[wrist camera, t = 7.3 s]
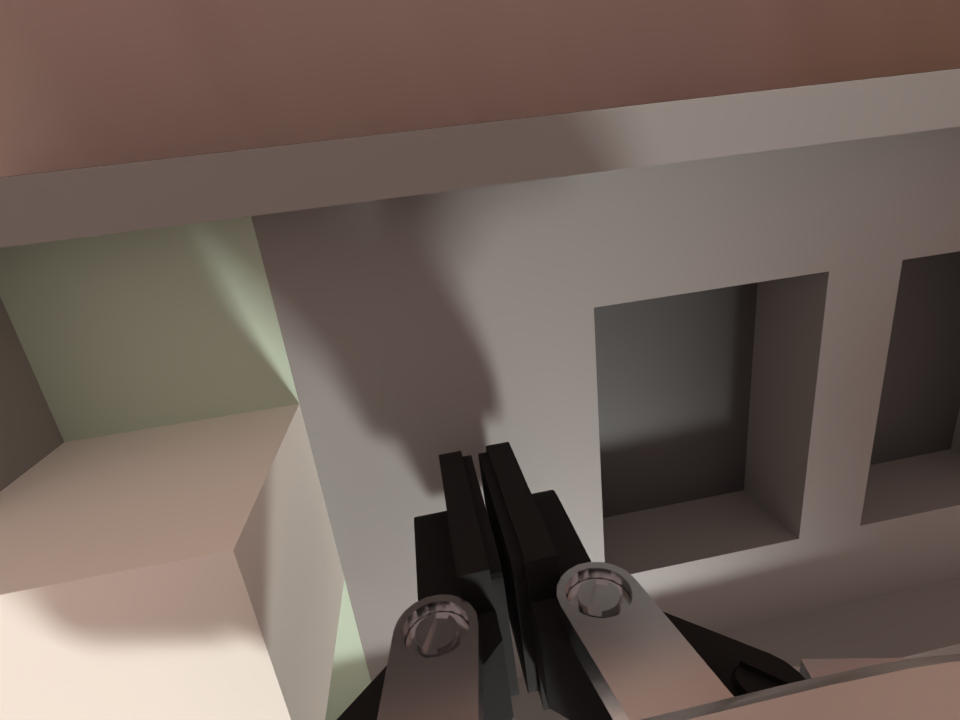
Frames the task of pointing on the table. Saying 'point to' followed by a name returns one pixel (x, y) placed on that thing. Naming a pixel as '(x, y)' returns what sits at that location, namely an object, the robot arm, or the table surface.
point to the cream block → (170, 576)
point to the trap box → (552, 344)
